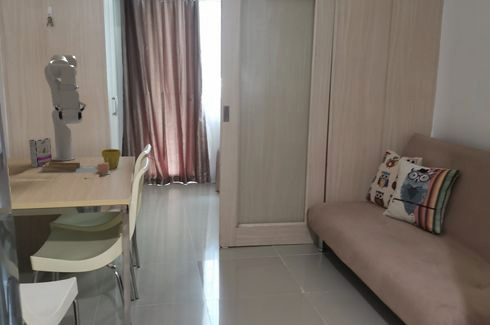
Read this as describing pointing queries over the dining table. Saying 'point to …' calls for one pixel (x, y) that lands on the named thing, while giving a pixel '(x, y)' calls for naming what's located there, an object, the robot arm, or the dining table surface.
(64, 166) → the frame
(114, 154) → the plant pot
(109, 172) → the pad
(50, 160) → the candy bar box
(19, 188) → the dining table surface
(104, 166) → the cube
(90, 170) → the deck
